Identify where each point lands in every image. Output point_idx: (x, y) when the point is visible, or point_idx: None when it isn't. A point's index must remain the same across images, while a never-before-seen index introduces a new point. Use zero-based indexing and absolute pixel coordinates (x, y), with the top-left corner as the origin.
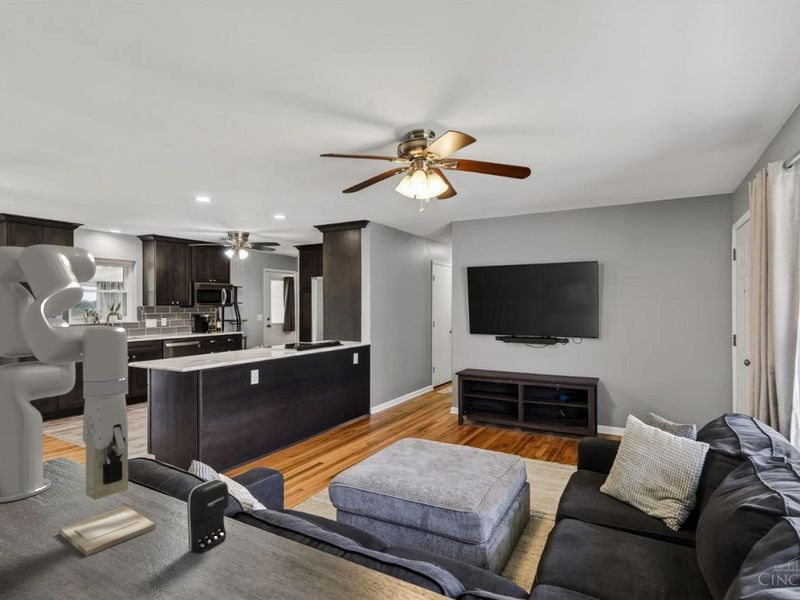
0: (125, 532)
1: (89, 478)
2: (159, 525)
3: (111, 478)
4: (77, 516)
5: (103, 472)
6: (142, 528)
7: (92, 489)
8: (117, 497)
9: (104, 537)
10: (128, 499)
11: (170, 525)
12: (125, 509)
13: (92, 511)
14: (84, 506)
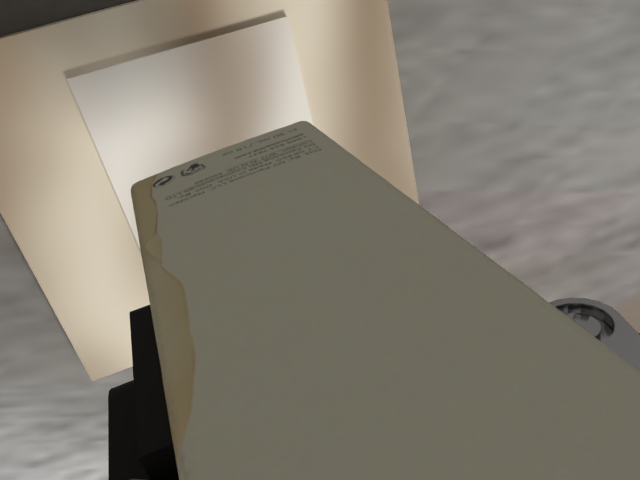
0: (68, 256)
1: (272, 203)
2: (123, 379)
3: (111, 396)
4: (521, 38)
5: (151, 375)
6: (67, 330)
7: (182, 194)
8: (594, 213)
9: (65, 159)
10: (533, 255)
11: (90, 420)
12: None
13: (525, 107)
14: (614, 74)
